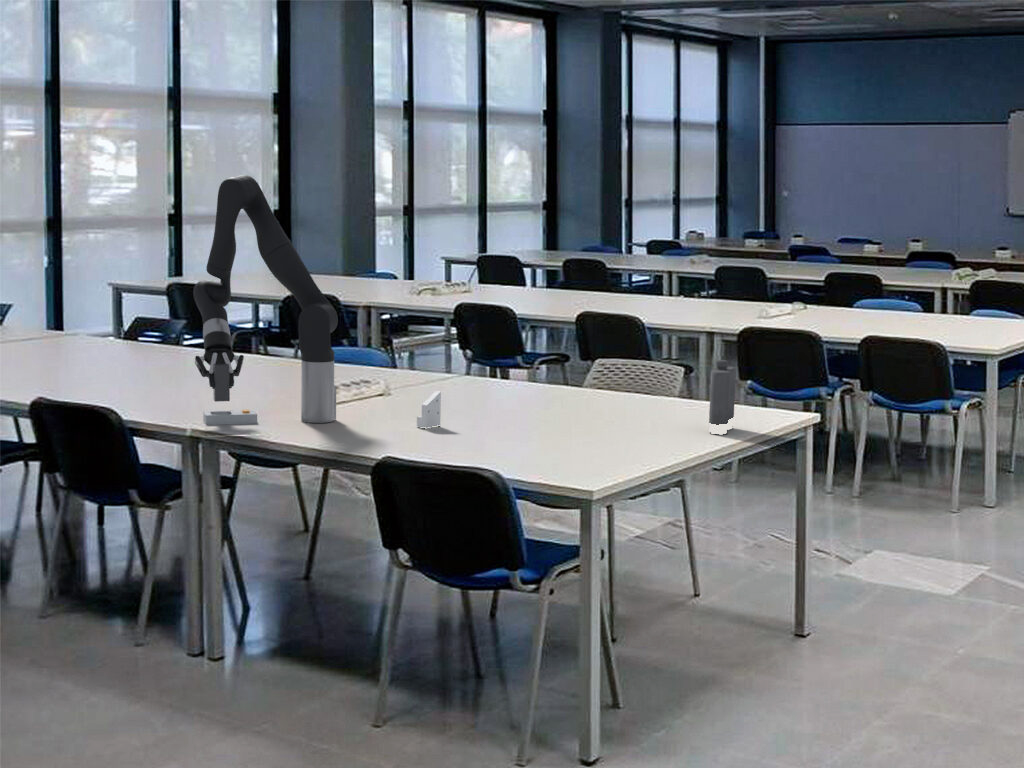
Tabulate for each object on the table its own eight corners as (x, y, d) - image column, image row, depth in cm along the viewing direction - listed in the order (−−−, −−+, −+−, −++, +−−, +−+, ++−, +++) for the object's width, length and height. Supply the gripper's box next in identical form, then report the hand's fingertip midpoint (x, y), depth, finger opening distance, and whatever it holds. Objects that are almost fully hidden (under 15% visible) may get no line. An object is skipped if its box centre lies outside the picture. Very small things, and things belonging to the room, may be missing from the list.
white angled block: (450, 416, 427) (440, 391, 423) (429, 437, 421) (419, 412, 417) (441, 414, 430) (431, 390, 425) (420, 436, 424) (409, 411, 419)
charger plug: (228, 398, 423) (227, 363, 421) (229, 401, 419) (229, 365, 417) (213, 399, 421) (213, 363, 420) (215, 401, 418) (214, 365, 416)
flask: (714, 426, 436) (717, 357, 433) (734, 427, 434) (737, 358, 432) (704, 434, 422) (707, 363, 419) (725, 436, 420) (728, 364, 418)
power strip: (253, 420, 427) (253, 408, 427) (257, 424, 420) (257, 412, 420) (203, 422, 423) (203, 409, 422) (205, 426, 416) (205, 413, 416)
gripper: (192, 330, 423) (196, 379, 413) (243, 329, 427) (249, 378, 417) (190, 347, 428) (195, 395, 418) (241, 346, 432) (247, 394, 423)
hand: (222, 386), depth 418 cm, fingers closed on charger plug, 4 cm apart
